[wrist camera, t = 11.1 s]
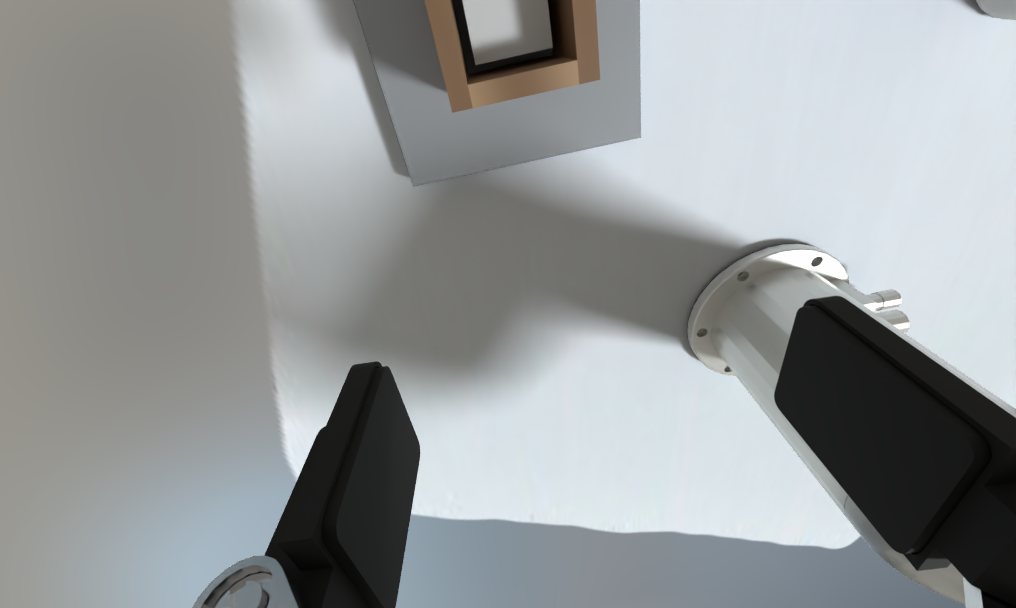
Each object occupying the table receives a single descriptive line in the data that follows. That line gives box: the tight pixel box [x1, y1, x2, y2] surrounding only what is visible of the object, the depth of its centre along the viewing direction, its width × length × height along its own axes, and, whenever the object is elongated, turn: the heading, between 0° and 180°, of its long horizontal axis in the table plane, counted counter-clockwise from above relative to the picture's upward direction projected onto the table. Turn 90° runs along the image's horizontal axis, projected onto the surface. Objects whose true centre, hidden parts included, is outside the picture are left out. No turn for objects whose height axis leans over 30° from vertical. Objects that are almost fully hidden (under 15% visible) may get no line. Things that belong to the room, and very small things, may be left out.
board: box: [353, 0, 641, 187], centre depth 20 cm, size 14×15×5 cm
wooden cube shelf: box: [425, 0, 600, 113], centre depth 18 cm, size 6×6×6 cm
